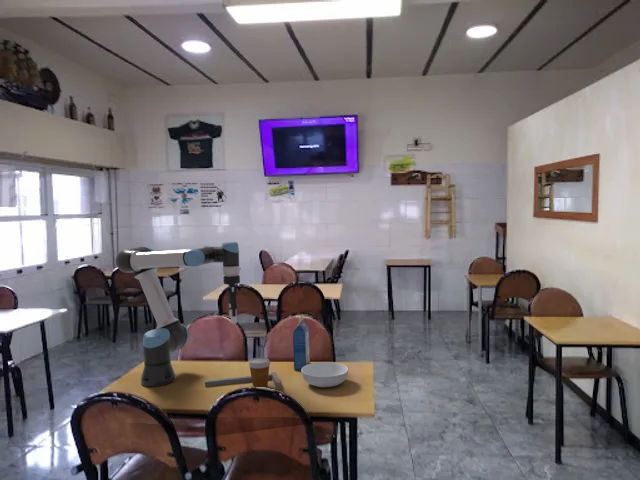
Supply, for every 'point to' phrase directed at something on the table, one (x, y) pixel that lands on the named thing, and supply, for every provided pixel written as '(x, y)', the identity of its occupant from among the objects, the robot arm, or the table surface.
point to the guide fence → (243, 380)
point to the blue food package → (301, 345)
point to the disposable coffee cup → (259, 371)
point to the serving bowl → (324, 374)
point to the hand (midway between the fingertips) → (233, 320)
